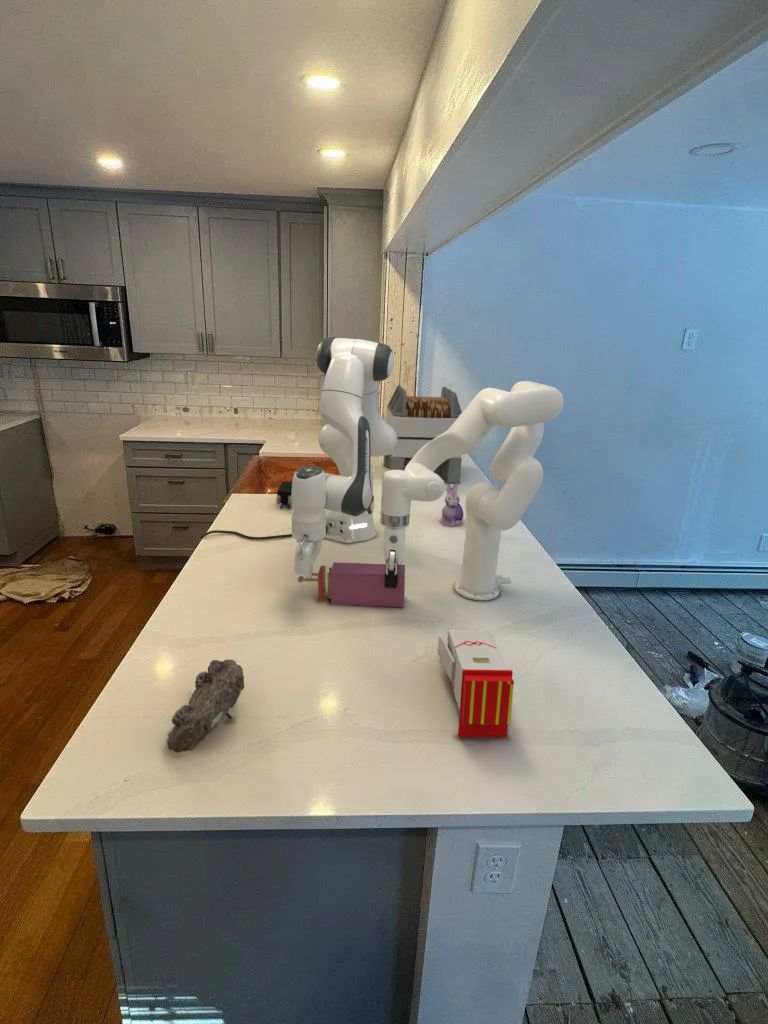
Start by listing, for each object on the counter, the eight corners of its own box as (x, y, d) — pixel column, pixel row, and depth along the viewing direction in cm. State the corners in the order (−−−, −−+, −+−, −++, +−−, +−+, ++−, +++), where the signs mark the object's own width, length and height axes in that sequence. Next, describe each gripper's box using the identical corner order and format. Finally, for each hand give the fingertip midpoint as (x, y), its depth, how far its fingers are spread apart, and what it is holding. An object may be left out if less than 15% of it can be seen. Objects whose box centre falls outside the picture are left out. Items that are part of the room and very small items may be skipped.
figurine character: (293, 513, 218) (297, 497, 231) (292, 495, 215) (297, 480, 228) (275, 513, 218) (281, 496, 231) (274, 495, 214) (280, 479, 228)
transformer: (382, 463, 289) (386, 382, 275) (445, 464, 293) (451, 384, 279) (390, 482, 257) (394, 392, 243) (460, 483, 261) (468, 394, 247)
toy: (488, 613, 130) (523, 677, 101) (484, 667, 133) (517, 744, 104) (435, 612, 130) (455, 676, 101) (432, 666, 133) (451, 743, 103)
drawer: (298, 599, 152) (296, 573, 149) (301, 590, 156) (300, 565, 154) (387, 602, 151) (387, 576, 148) (388, 593, 155) (388, 567, 153)
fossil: (192, 660, 117) (244, 628, 112) (224, 691, 120) (276, 661, 115) (142, 746, 98) (202, 712, 93) (182, 779, 101) (242, 748, 96)
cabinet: (331, 604, 151) (330, 572, 148) (334, 593, 157) (333, 562, 154) (403, 607, 150) (404, 575, 147) (404, 595, 156) (405, 564, 153)
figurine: (448, 528, 206) (452, 489, 201) (433, 519, 215) (436, 481, 210) (470, 525, 210) (473, 486, 205) (454, 516, 219) (457, 479, 214)
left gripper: (313, 544, 137) (313, 596, 141) (326, 517, 156) (326, 563, 161) (288, 542, 137) (288, 594, 141) (303, 516, 157) (304, 562, 161)
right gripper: (409, 531, 137) (404, 597, 143) (410, 508, 153) (405, 568, 159) (378, 529, 137) (374, 595, 143) (382, 506, 153) (379, 566, 159)
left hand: (308, 577), depth 151 cm, fingers closed, pressing on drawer
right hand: (391, 580), depth 151 cm, fingers closed on cabinet, 6 cm apart
